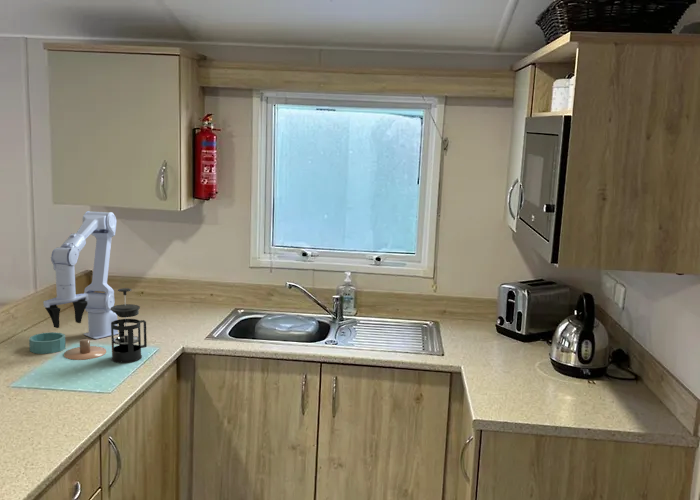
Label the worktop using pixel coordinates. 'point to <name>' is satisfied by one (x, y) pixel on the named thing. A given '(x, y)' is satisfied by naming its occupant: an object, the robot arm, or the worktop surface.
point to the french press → (126, 342)
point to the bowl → (47, 343)
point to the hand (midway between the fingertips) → (67, 324)
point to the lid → (85, 351)
